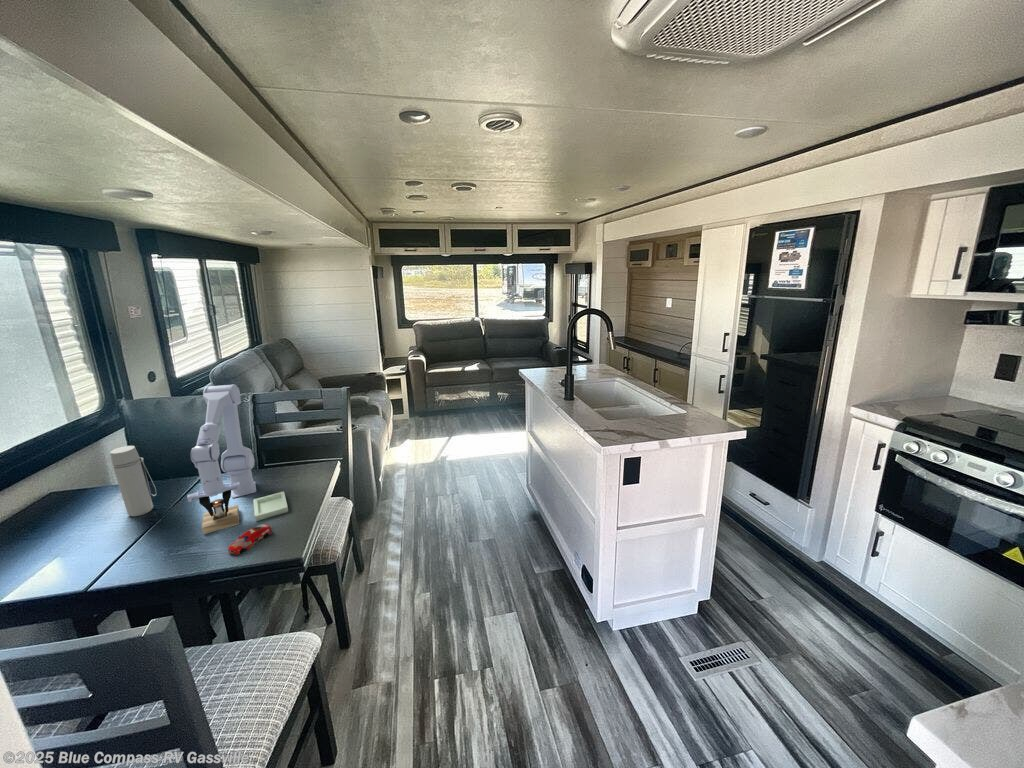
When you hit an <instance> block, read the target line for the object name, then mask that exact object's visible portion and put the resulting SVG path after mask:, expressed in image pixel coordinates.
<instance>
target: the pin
mask: <svg viewBox="0 0 1024 768" xmlns="http://www.w3.org/2000/svg"><path fill="white" fill-rule="evenodd" d="M210 502H211V503H210V504H211V507H212V509H213V511H214V513H215V517H216V520H217V519H220V518H224V517H226V515H225V511H224V508H225V504H224V501H223V498H218V499H214V500H212V501H210Z"/></svg>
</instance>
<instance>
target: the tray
mask: <svg viewBox="0 0 1024 768" xmlns="http://www.w3.org/2000/svg"><path fill="white" fill-rule="evenodd" d="M286 498H287V497H286V494H285V491H284V490H283V491H280V492H276V493H273V494H269V495H266V496H262V497H257V498H254V499H253V500H252V501H253V511H254V518H255V522H259V521H261V520H263V521H264V520H266V519H269V518H272V517H277V516H279V515H283V514H286V513H289V508H288V503H287V499H286Z"/></svg>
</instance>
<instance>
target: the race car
mask: <svg viewBox="0 0 1024 768" xmlns="http://www.w3.org/2000/svg"><path fill="white" fill-rule="evenodd" d="M272 533H273V528H272V527H271V525H269V524H265V523H264V524H259V525H256V526H254V527H252V528H249V529H248V530H247V531H245V532H243V533H242V534H241V535H239V536H238V538H237V539H236V540H234V541H233V542H232V543H231V544H230V545H229V546H228V548H227V549H228V553H229V555H232V556H235V555H242V554H243V553H245V552H246V551H248V550H249V549H251V548H252V547H254V546H255V545H257V544H259V543H260V542H261V541H262V542H263V541H264V540H266V539H267V538H269V536H271V534H272Z"/></svg>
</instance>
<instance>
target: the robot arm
mask: <svg viewBox="0 0 1024 768" xmlns="http://www.w3.org/2000/svg"><path fill="white" fill-rule="evenodd" d="M202 395H203V396H202V397H203V400H204V402H205V404H206V405H207V407H206V412H205V413H206V414H205V423H204V424H203V425H201V426H200V427H199V432H198V436H197V440H196V445H195V446H194V447H192V448H191V451H190V461H191V463H193V464H194V468H196V469H197V470H198V475H199V479H200V483H201V486H202V487H201V488H202V489H201V490H198V491H196V492H193V493H189V494H187V497H186V498H187V501H188V503H191V502H193V501H196V500H198V502H199V505H201V506H202V507H203V508H205V510H206V511H207V513H208V512H209V514H210V515H211V517H212V516H213V515H214V512H213V511H214V509H213V507H211V504H210V503H211V502H212V501H211V497H217V496H218V495H219V494H222V495H221V496H222V499H223V501H224V504H223V505H224V508H225V511H226V512H228V507H229V503H230V499H235V498H238V497H243V496H246V495H250V494H254V493H256V492H257V486H256V485H257V484H256V481H254V479H253V473H252V470H253V468H254V467H255V457H254V454H253V451H252V449H251V448H249V447H246V446H244V445H243V440H242V433H241V426H240V425H241V424H240V418H239V410H238V409H239V408H238V405H240V404H241V403H242V401H241V400H242V399H241V398H242V397H241V391H240V388H239V387H238V386H237V385H236V384H235V383H234V384H233V383H232V384H226V385H225V384H223V385H207V386H205V387H204V389H203V391H202ZM221 416H222V419H223V420H222V421H223V428H224V434H225V440H226V442H225V443H226V446H227V448H226V450H225V451H224V452H222V454H221V453H220V444H219V441H220V435H221V427H220V426H219V424H220V423H219V422H220V419H221ZM220 454H221V455H220ZM220 456H221V458H220ZM219 458H220V459H221V460H220V464H219V460H218V459H219ZM220 468H221V469H220ZM221 470H222V472H224V473H226V475H228V476H229V481H230V483H225V484H224V481H223V476H222V472H221Z"/></svg>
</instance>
